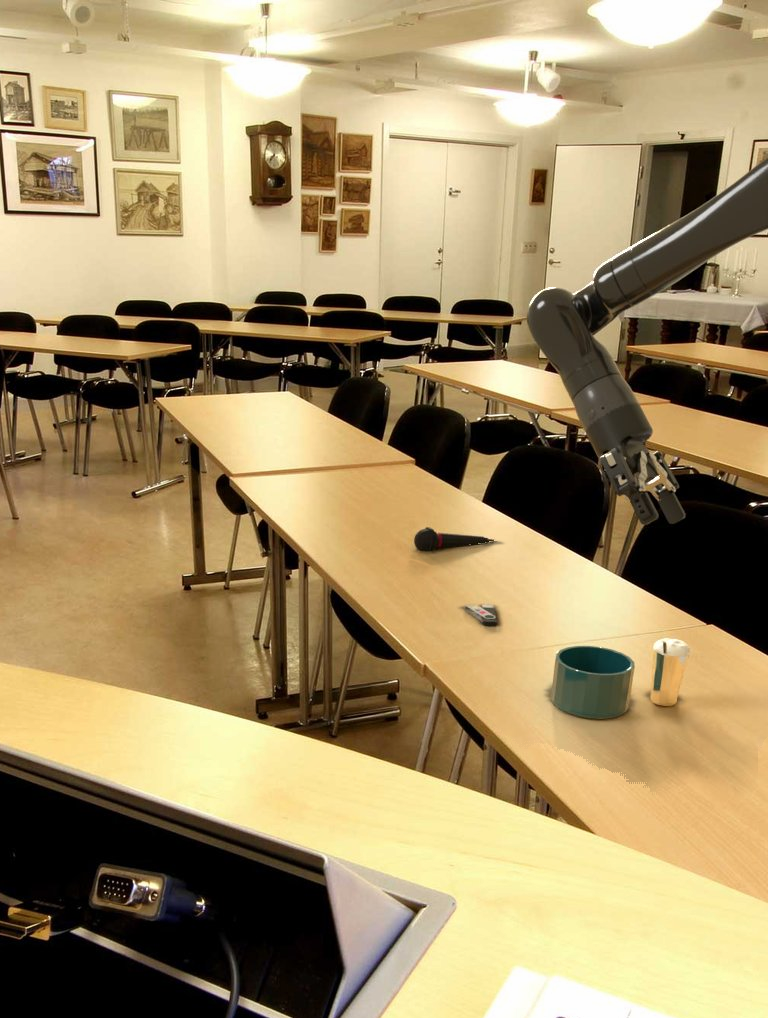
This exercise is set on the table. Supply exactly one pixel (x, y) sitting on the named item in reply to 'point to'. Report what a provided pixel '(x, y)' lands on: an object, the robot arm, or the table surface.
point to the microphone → (444, 540)
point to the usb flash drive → (483, 613)
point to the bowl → (592, 681)
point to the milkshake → (668, 670)
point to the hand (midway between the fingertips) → (665, 521)
